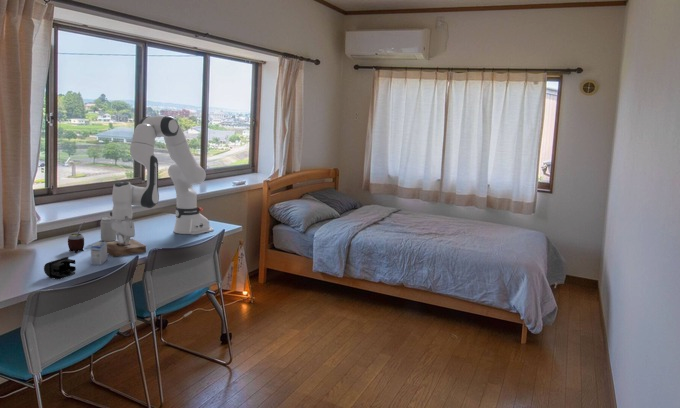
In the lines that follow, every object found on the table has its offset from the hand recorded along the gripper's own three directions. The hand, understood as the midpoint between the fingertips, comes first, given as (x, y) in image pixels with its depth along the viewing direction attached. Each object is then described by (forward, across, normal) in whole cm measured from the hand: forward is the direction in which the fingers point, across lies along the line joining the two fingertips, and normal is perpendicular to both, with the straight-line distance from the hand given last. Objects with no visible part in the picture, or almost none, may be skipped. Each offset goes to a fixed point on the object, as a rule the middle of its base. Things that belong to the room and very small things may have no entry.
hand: (123, 242), depth 259 cm
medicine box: (+4, -13, +16) cm, 21 cm away
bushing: (+4, 0, 0) cm, 4 cm away
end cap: (+4, -22, +35) cm, 42 cm away
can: (+4, +21, -1) cm, 21 cm away
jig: (+4, 0, 0) cm, 4 cm away
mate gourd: (+4, +10, +18) cm, 21 cm away
